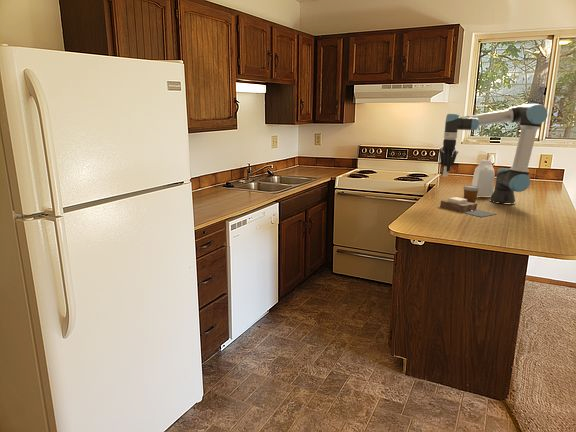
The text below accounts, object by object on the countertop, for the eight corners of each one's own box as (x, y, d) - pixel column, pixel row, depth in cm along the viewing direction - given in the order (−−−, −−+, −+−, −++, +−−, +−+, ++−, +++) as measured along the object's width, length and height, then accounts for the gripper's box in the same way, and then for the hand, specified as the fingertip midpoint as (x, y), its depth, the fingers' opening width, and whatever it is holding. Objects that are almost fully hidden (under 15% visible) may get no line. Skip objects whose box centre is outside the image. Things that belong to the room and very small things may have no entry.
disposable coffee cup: (463, 202, 286) (465, 184, 283) (478, 204, 281) (480, 186, 278) (459, 204, 278) (462, 186, 275) (475, 206, 273) (477, 188, 270)
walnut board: (454, 204, 278) (454, 198, 277) (476, 210, 265) (477, 203, 264) (440, 206, 270) (440, 200, 269) (462, 212, 257) (462, 205, 256)
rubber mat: (478, 210, 264) (478, 209, 264) (496, 214, 254) (496, 213, 254) (463, 212, 256) (463, 212, 256) (481, 217, 246) (481, 216, 246)
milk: (486, 194, 314) (491, 159, 308) (492, 198, 303) (497, 161, 296) (469, 194, 315) (474, 158, 309) (474, 197, 304) (480, 160, 298)
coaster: (455, 200, 273) (456, 197, 272) (466, 202, 266) (467, 199, 266) (447, 201, 268) (448, 198, 268) (458, 203, 262) (459, 200, 261)
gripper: (437, 138, 270) (432, 175, 276) (455, 140, 259) (450, 178, 265) (444, 138, 274) (440, 174, 280) (463, 139, 263) (458, 177, 269)
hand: (445, 176), depth 273 cm, fingers closed
